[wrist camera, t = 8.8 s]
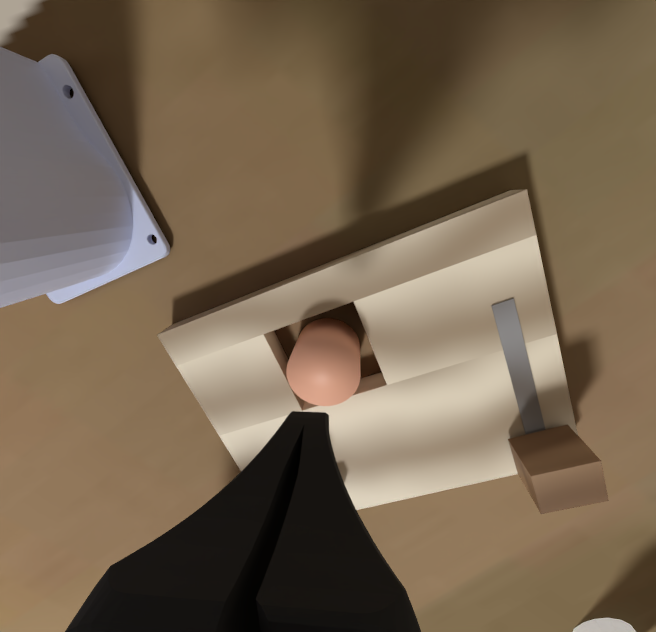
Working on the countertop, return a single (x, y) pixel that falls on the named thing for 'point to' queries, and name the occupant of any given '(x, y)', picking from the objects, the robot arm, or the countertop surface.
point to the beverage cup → (604, 626)
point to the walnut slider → (558, 469)
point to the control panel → (400, 355)
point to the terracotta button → (325, 363)
